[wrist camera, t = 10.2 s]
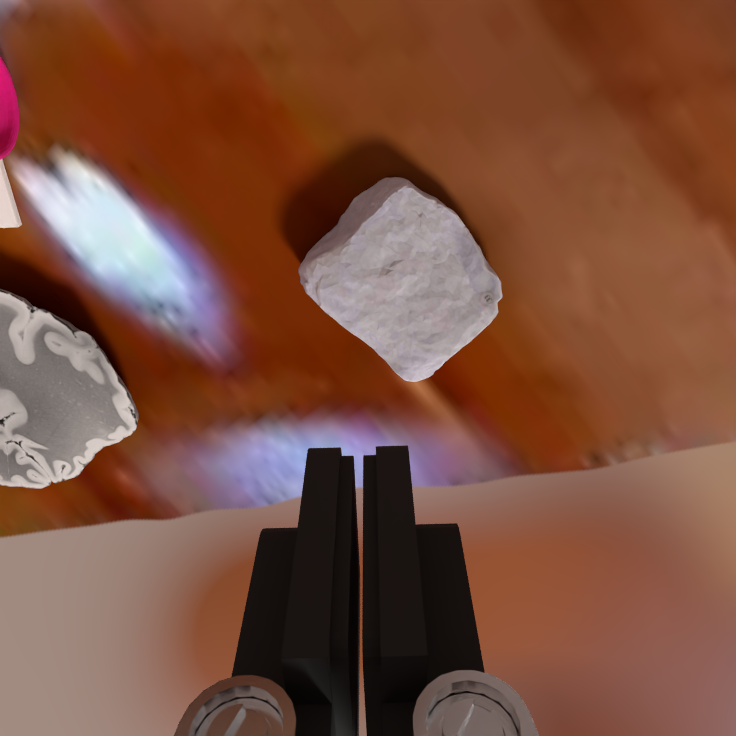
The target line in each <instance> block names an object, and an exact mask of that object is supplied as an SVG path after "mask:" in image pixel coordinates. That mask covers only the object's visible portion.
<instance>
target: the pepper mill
mask: <svg viewBox="0 0 736 736" xmlns="http://www.w3.org/2000/svg"><path fill="white" fill-rule="evenodd" d="M18 132H19V106H18V100H17V94H16V91H15V88H14V85H13V81H12V78H11V76H10V73H9V71H8V69H7V67H6V65H5V63H4V61H3V60H2V58H1V56H0V160H1V159H3V158H4V157H6V156H7V155H9V153H10V152H11V150H12V149H13V147H14V146H15V143H16V140H17V137H18Z"/></svg>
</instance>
